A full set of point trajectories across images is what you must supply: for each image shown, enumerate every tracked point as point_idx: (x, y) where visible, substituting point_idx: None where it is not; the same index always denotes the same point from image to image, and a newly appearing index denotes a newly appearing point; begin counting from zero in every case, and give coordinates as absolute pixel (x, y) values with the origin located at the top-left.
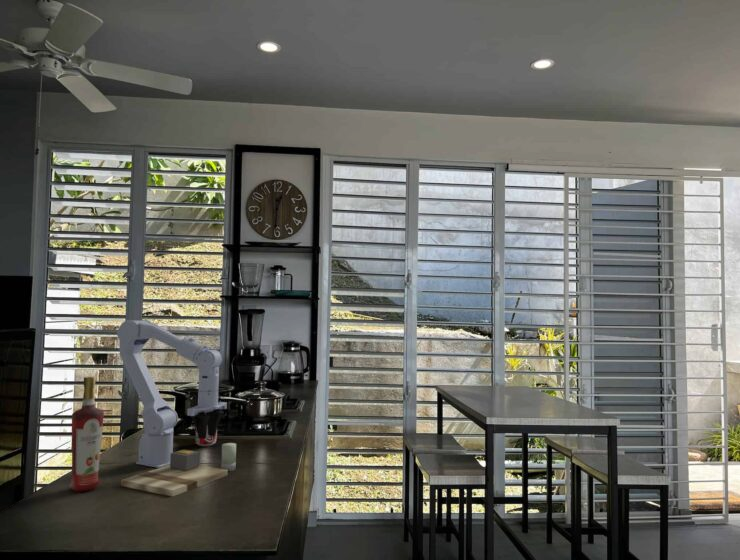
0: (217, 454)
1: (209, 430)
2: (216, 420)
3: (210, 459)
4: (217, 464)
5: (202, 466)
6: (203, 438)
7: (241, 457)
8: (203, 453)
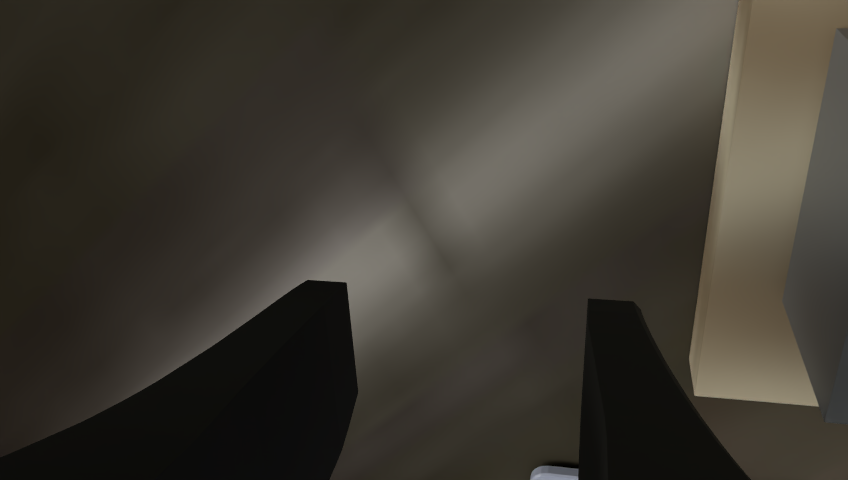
0: (116, 323)
1: (325, 442)
2: (176, 476)
3: (285, 269)
4: (390, 64)
5: (786, 6)
6: (640, 312)
7: (9, 19)
8: None
